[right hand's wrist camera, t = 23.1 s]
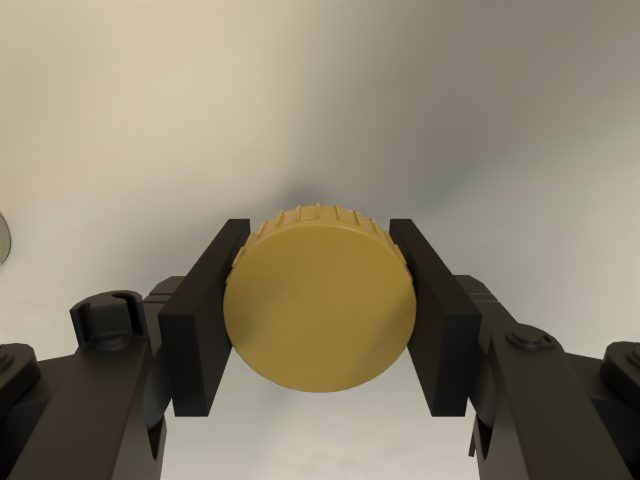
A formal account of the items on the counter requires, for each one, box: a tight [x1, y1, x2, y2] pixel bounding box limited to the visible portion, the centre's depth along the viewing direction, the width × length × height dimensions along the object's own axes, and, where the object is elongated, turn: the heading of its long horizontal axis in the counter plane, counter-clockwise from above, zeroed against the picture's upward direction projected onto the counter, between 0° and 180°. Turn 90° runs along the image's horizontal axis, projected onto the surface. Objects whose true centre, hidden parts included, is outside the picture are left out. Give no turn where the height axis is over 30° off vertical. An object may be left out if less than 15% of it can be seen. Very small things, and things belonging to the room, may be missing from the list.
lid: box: [223, 203, 417, 392], centre depth 11 cm, size 5×5×2 cm
